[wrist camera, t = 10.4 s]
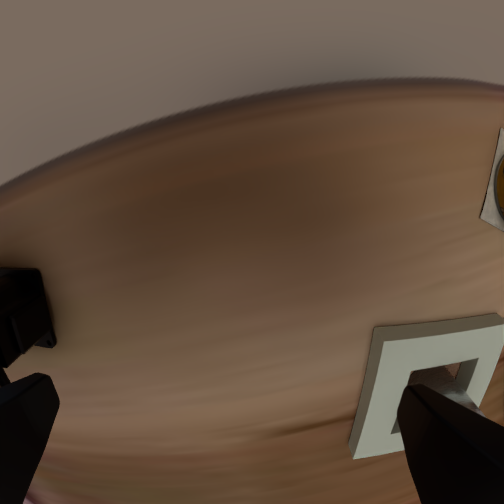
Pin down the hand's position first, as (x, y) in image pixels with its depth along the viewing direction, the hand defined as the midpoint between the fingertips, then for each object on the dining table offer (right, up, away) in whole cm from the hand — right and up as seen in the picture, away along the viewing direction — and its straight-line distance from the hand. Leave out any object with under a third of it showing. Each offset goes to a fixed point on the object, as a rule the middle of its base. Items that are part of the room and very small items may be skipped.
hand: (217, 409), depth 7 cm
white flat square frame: (+15, -7, +15) cm, 23 cm away
